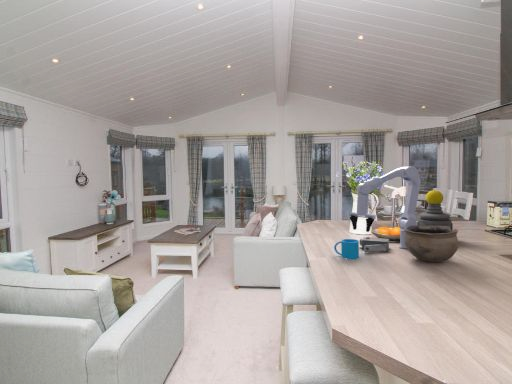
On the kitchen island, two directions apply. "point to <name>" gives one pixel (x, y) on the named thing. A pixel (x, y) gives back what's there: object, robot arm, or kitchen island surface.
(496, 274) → the kitchen island surface
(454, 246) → the ceramic bowl
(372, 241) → the camera body
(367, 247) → the side door
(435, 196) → the decorative lamp
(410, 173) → the robot arm
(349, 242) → the mug
